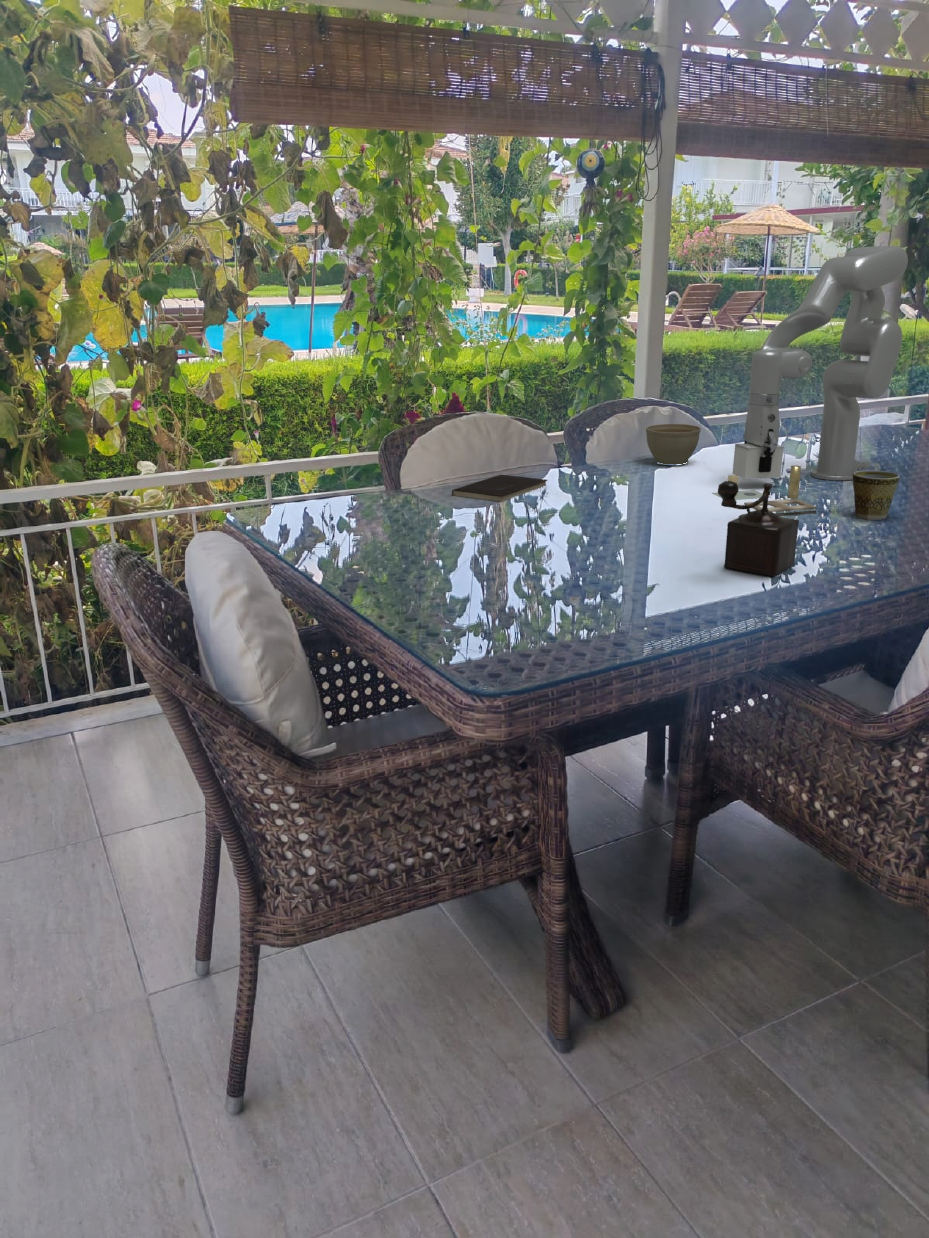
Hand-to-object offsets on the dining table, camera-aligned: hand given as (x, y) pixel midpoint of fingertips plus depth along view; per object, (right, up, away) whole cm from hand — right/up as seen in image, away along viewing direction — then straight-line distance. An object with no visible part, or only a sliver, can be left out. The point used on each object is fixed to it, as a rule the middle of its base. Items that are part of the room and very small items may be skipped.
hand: (757, 468), depth 247 cm
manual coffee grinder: (-21, -30, -64) cm, 74 cm away
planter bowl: (-14, +8, +40) cm, 43 cm away
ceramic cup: (+18, -15, -26) cm, 35 cm away
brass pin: (+5, -10, -11) cm, 16 cm away
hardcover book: (-67, -5, +9) cm, 68 cm away
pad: (-7, -9, -8) cm, 14 cm away
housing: (0, -2, +1) cm, 2 cm away
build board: (-1, -13, -20) cm, 24 cm away
